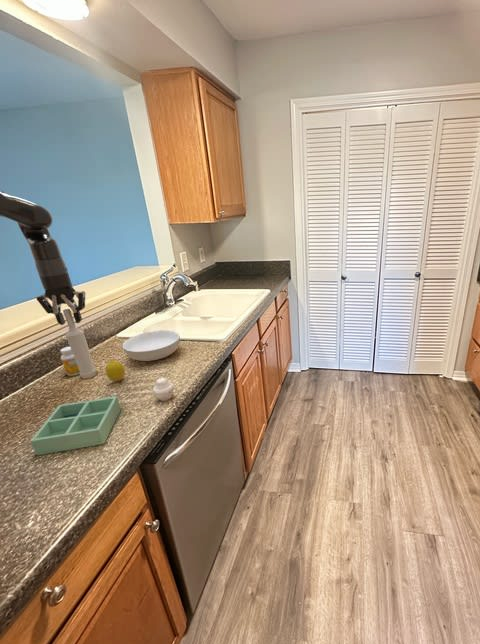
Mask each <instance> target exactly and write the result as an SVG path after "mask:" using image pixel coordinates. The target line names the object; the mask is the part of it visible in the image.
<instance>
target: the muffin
mask: <svg viewBox="0 0 480 644" xmlns="http://www.w3.org/2000/svg"><path fill="white" fill-rule="evenodd" d="M174 388H175V385H174V384H173V382H171V381H169V380H168V379H167V378H166V377H161V378H157V379H156V381H155V383H154V386H153V387H152V393H153V395H154V396H155V397H156V398H157V399H159V400H160V401H162V402H165V401H169V400H170V399H171V398H172V397H173V393H174Z"/></svg>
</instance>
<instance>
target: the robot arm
mask: <svg viewBox="0 0 480 644" xmlns="http://www.w3.org/2000/svg"><path fill="white" fill-rule="evenodd" d="M0 217H1V218H6V219H8V220H11V221H14V222H16V223H17V226H18V228H19V229H20V232H21V234H22V235H23V237H24V239H25V240H26V242H27V244H28V246H29V249H30V252H31V255H32V257H33V260H34V263H35V264H34V265H35V268H36V272H37V275H38V277H39V279H40V283H41V285H42V288H43V289H44V294H41V295H39V296H37V297H36V301H37V302H38V303H39V304H40V306H41V307H42V308H43V310H44V311H45V312H46V313H47V314H53V315H54V316H55V319H56V322H57V323H58V324H59V325H60V326H64V325H66V319H65V316H64V313H63V312H62V305H63V304H64V305H66V306H67V307H68V308H69V309H70V311H71V312H72V316H73V319H74V322H75V324H80V323H81V321H82V320H83V316H82V315H81V314H82V313H81V311H82V310H84V309H85V308H86V292H85V291H84V290H82V291H79V290H78V291H77V290H76V289H74V287H73V283H72V280H71V277H70V275H69V272H68V271H69V270H68V267H67V266H66V262H65V261H64V259H63V256H62V253H61V251H60V248H59V245H58V242H57V241H56V240H55V239H54V238H53V237H52V236H51V234H50V231H49V228H50V227H51V226H52V224H53V217H52V215H51V213H50V211H49V210H48V209H46V208H45V207H43V206H42V205H39V204H37V203H34V202H32V201H30V200H27V199H25V198H21V197H18V196H15V195H12V194H10V193H7V192H5V191H4V190H1V189H0ZM74 297H76V298H77V302H76V299H74ZM49 300H50V301H51V303H50V301H49Z"/></svg>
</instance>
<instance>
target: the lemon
mask: <svg viewBox="0 0 480 644" xmlns="http://www.w3.org/2000/svg"><path fill="white" fill-rule="evenodd" d="M125 374H126V370H125V367H124V365H123V363H121V361H119V360H110V361H109V362H108V363H107V364H106V366H105V375H106V377H107V378H108V379H109V380H110V381H112V382H113V381H114V382H120V381H121V380H122V379H124V377H125Z"/></svg>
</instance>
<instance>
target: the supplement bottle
mask: <svg viewBox="0 0 480 644" xmlns="http://www.w3.org/2000/svg"><path fill="white" fill-rule="evenodd" d="M60 354H61V355H60V360H61V363H62V365H63V369H64V371H65V373H66V375H67V376H68V377H69V376H70V377H71V376H72V377H73V376H77V375H80V371H79V368H78V365H77V363H76V360H75V358H74V355H73V353H72V350H71V348H70V346H66V347H63V348H61V349H60Z"/></svg>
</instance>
